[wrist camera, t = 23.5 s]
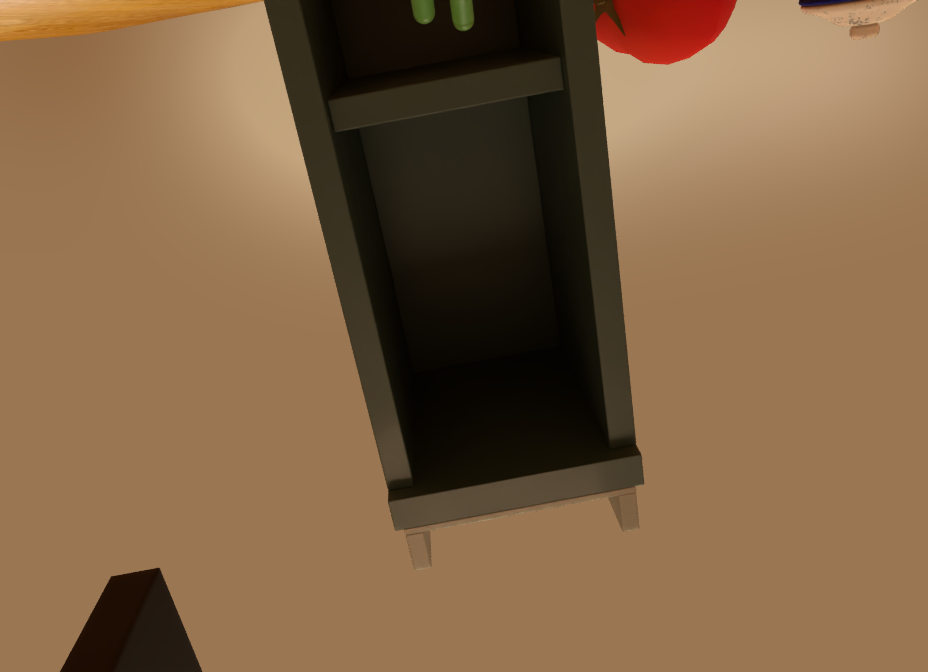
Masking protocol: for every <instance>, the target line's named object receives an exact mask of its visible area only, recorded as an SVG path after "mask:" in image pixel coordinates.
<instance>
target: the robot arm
mask: <svg viewBox="0 0 928 672" xmlns="http://www.w3.org/2000/svg"><path fill="white" fill-rule="evenodd" d="M60 672H202V670H201V667H200V665H199V663H198V660H197V658H196V655H195V653H194V650H193V648H192V646H191V643H190V641H189V639H188V636H187V633H186V631H185V629H184V626H183V624H182V621H181V619H180V616H179V614H178V612H177V609H176V607H175V605H174V602H173V599H172V597H171V595H170V592H169V590H168V588H167V585H166V582H165V580H164V578H163V575H162V573H161V570H160V568H155V569H150V570H144V571H139V572H133V573H128V574H123V575H117V576H112V577H111V578H110V580H109V582H108V584H107V585H106V587H105V589H104V591H103V593H102V595H101V596H100V598H99V600H98V602H97V604H96V606H95V608H94V610H93V611H92V613H91V615H90V617H89V619H88V621H87V623H86V624H85V626H84V628H83V630H82V632H81V634H80V636H79V638H78V639H77V641H76V643H75V645H74V647H73V649H72V651H71V652H70V654H69V656H68V658H67V660H66V662H65V664H64V666H63V667H62V669H61V671H60Z"/></svg>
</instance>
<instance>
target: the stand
mask: <svg viewBox="0 0 928 672" xmlns="http://www.w3.org/2000/svg"><path fill="white" fill-rule="evenodd" d="M433 1H434V8H435V16H434V18H433V20H432V21H431V22H429V23H427V24H421V23H419V22H418V21H417V20H416V19H415V18H414V15H413V10H412V4H411V0H264V3H265V7H266V11H267V15H268V19H269V23H270V26H271V31H272V35H273V38H274V42H275V46H276V50H277V54H278V58H279V62H280V66H281V70H282V74H283V78H284V82H285V85H286V90H287V94H288V98H289V101H290V105H291V109H292V113H293V117H294V121H295V125H296V129H297V133H298V137H299V141H300V145H301V149H302V152H303V156H304V160H305V165H306V168H307V172H308V176H309V180H310V184H311V188H312V192H313V196H314V200H315V204H316V208H317V212H318V216H319V220H320V224H321V228H322V231H323V235H324V239H325V243H326V247H327V251H328V255H329V259H330V263H331V267H332V271H333V275H334V279H335V283H336V287H337V290H338V294H339V298H340V302H341V306H342V310H343V314H344V318H345V322H346V326H347V330H348V334H349V337H350V342H351V346H352V350H353V354H354V358H355V361H356V365H357V369H358V373H359V377H360V381H361V385H362V389H363V393H364V396H365V401H366V404H367V409H368V413H369V417H370V420H371V425H372V428H373V432H374V436H375V440H376V444H377V448H378V452H379V456H380V460H381V464H382V468H383V471H384V476H385V480H386V484H387V488H388V504H389V507H390V512H391V516H392V520H393V523H394V527H395V530H396V531H397V530H403V529H404V530H405V534H406V538H407V542H408V546H409V550H410V554H411V558H412V562H413V566H414V569H415V570H419V569H424V568H429V567H431V566H432V565H431V543H430V530H435V529H441V528H446V527H451V526H457V525H463V524H468V523H473V522H479V521H484V520H489V519H495V518H500V517H505V516H511V515H516V514H522V513H527V512H532V511H538V510H543V509H548V508H554V507H559V506H565V505H569V504H575V503H581V502H586V501H591V500H597V499H602V498H607V497H608V498H609V501H610V503H611V505H612V508H613V510H614V512H615V515H616V517H617V519H618V522H619V524H620V526H621V529H622V531H628V530H633V529H638V528H639V519H638V509H637V499H636V488H635V486H638V485H643V484H644V477H643V466H642V456H641V453H640V451H639V449H638V447H637V446H636V438H635V428H634V417H633V407H632V396H631V386H630V376H629V365H628V355H627V345H626V334H625V324H624V314H623V303H622V293H621V282H620V272H619V262H618V252H617V241H616V231H615V220H614V210H613V200H612V189H611V179H610V168H609V158H608V148H607V138H606V127H605V117H604V107H603V96H602V86H601V75H600V65H599V54H598V44H597V34H596V23H595V13H594V3H593V0H472V4H473V13H474V23H473V25H472V27H471V28H470V29H469V30H466V31H460V30H458V29H457V28H456V27H455V26H454V24H453V21H452V14H451V7H450V0H433Z"/></svg>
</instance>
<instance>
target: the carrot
mask: <svg viewBox="0 0 928 672" xmlns="http://www.w3.org/2000/svg"><path fill="white" fill-rule="evenodd" d="M411 4H412V10H413V15H414V18H415V19H416V20H417V21H418V22H419V23H421V24H427V23H429V22H431V21H432V20H433V18H434V16H435V8H434V1H433V0H411ZM450 7H451V14H452V21H453V24H454V26H455V27H456V28H457V29H458V30H460V31H466V30H469V29H470V28H471V27H472V25H473V23H474V13H473V4H472V0H450Z"/></svg>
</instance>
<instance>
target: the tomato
mask: <svg viewBox="0 0 928 672" xmlns="http://www.w3.org/2000/svg"><path fill="white" fill-rule="evenodd" d="M736 1H737V0H593V3H594V13H595V23H596V34H597V40H599V41H600V42H602V43H603V44H605V45H606V46H608V47H610V48H611V49H613V50H614V51H616V52H620V53H625V54H630V55H632V56H634V57H635V58H637V59H639V60H640V61H642V62H643V63H653V64H671V63H674V62H677V61H680V60H684V59H687V58H690V57H691V56H693V55H694V54H696V53H697V52H698V51H700V50H702V49H703V48H705V47H706V46H708V45H709V44H711V43H712V42H714V41H715V39H716V38H717V37H718V36H719V34H720V33H721V32H722V30H723V29H724V28H725V26H726V24H727V22H728V20H729V18H730V16H731V14H732V12H733V10H734V8H735V4H736Z"/></svg>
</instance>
